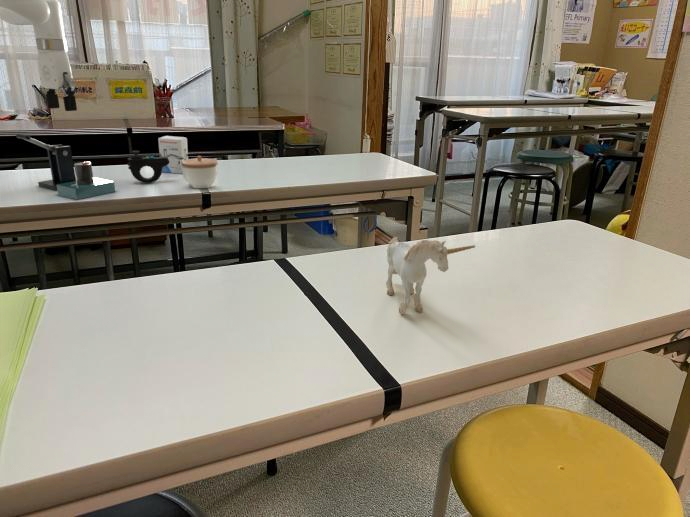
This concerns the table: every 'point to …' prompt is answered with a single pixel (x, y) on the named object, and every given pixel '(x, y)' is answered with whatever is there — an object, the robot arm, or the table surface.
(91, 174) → the dial
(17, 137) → the lever
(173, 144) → the ink box
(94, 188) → the dial panel
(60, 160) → the toaster bracket
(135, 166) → the black holed piece
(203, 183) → the trinket box
